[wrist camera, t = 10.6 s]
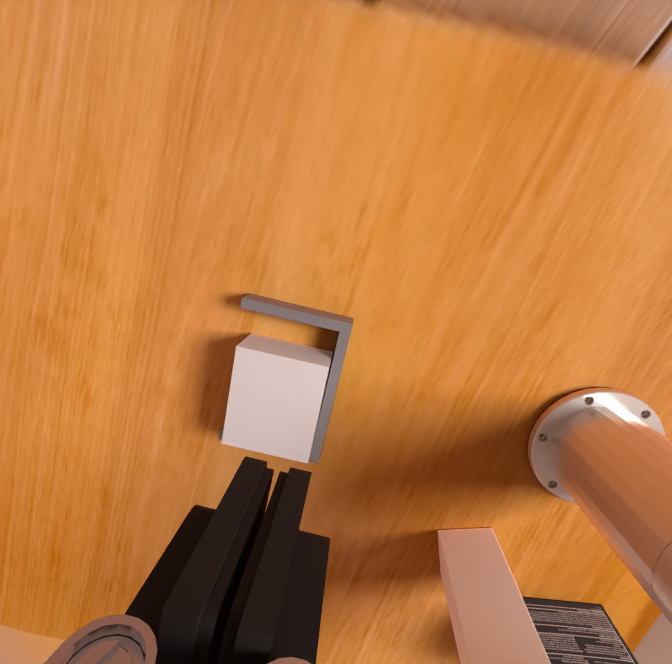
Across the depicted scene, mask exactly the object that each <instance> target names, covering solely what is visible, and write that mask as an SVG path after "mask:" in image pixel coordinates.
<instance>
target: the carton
mask: <svg viewBox="0 0 672 664" xmlns="http://www.w3.org/2000/svg"><path fill="white" fill-rule="evenodd" d="M332 355H333V351H328V350H324V349H319V348H315V347H311V346H306V345H302V344H297V343H293V342H288V341H284V340H280V339H275V338H271V337H266V336H262V335H257V334H253V333H251V334H250V335H249V336H247V337H246V338H245V339H244V340H243V341H242V342H241V343H239V344H238V345H237V346H236V351H235V358H234V364H233V371H232V378H231V384H230V391H229V397H228V404H227V410H226V417H225V424H224V430H223V437H222V443H221V444H225V445H229V446H234V447H238V448H242V449H247V450H251V451H255V452H260V453H264V454H268V455H273V456H277V457H281V458H285V459H290V460H294V461H298V462H303V463H307V464H308V461H309V457H310V453H311V449H312V445H313V441H314V436H315V432H316V427H317V423H318V418H319V414H320V409H321V405H322V400H323V396H324V391H325V387H326V382H327V378H328V373H329V369H330V364H331V360H332Z"/></svg>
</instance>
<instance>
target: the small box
mask: <svg viewBox="0 0 672 664" xmlns="http://www.w3.org/2000/svg"><path fill="white" fill-rule="evenodd" d="M522 598H523V600H524V603H525V605H526V607H527V609H528V612H529V614H530V616H531V619H532V621H533V623H534V626H535V628H536V630H537V633H538V635H539V637H540V639H541V642H542V644H543V646H544V649H545V651H546V653H547V656H548V658H549V660H550V663H551V664H638V662H637V660H636V659H635V657H634V656H633V654H632V653H631V651H630V649H629V648H628V646H627V645H626V643H625V641H624V640H623V638H622V637H621V635H620V634H619V632H618V630H617V629H616V627H615V626H614V624H613V623H612V621H611V619H610V618H609V616H608V614H607V613H606V611H605V609H604V607H603V606H602V605H599V604H590V603H578V602H567V601H556V600H545V599H534V598H524V597H522Z"/></svg>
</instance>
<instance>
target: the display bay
mask: <svg viewBox="0 0 672 664" xmlns="http://www.w3.org/2000/svg"><path fill="white" fill-rule="evenodd" d="M240 308H243V309H247V310H251V311H255V312H259V313H263V314H268V315H272V316H276V317H280V318H284V319H288V320H293V321H297V322H301V323H305V324H309V325H314V326H318V327H322V328H326V329H330V330H334V331H339V337H338V341H337V345H336V349H335V353H334V358H333V362H332V366H331V370H330V374H329V379H328V383H327V387H326V391H325V395H324V400H323V404H322V408H321V412H320V416H319V421H318V425H317V429H316V433H315V437H314V441H313V445H312V449H311V453H310V457H309V461H310V462H314V463H319V459H320V455H321V451H322V447H323V443H324V439H325V435H326V430H327V426H328V422H329V418H330V414H331V410H332V406H333V402H334V398H335V394H336V390H337V386H338V382H339V378H340V374H341V369H342V365H343V361H344V357H345V353H346V349H347V345H348V341H349V337H350V333H351V329H352V325H353V318H350V317H346V316H342V315H337V314H333V313H329V312H325V311H321V310H316V309H312V308H308V307H304V306H300V305H296V304H291V303H287V302H283V301H279V300H275V299H270V298H266V297H262V296H258V295H254V294H248V295H246V296H244V297H242V300H241V307H240ZM223 430H224V426H223V427H222V428H221V430H220V433H219V439H220V440H222V437H223Z"/></svg>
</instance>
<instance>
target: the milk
mask: <svg viewBox="0 0 672 664" xmlns="http://www.w3.org/2000/svg"><path fill="white" fill-rule="evenodd" d="M438 544H439V558H440V572H441V578H442V582H443V587H444V591H445V596H446V600H447V605H448V609H449V614H450V618H451V623H452V627H453V632H454V636H455V641H456V645H457V650H458V654H459V659H460V663H461V664H551V663H550V660H549V658H548V656H547V653H546V651H545V649H544V646H543V644H542V642H541V639H540V637H539V635H538V633H537V630H536V628H535V626H534V623H533V621H532V619H531V616H530V614H529V612H528V609H527V607H526V605H525V603H524V600H523V598H522V596H521V593H520V591H519V589H518V586H517V584H516V582H515V579H514V577H513V575H512V572H511V570H510V568H509V566H508V563H507V561H506V559H505V556H504V554H503V552H502V549H501V547H500V545H499V542H498V540H497V538H496V536H495V533H494V531H493V529H492V528H470V529H449V530H438Z"/></svg>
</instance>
